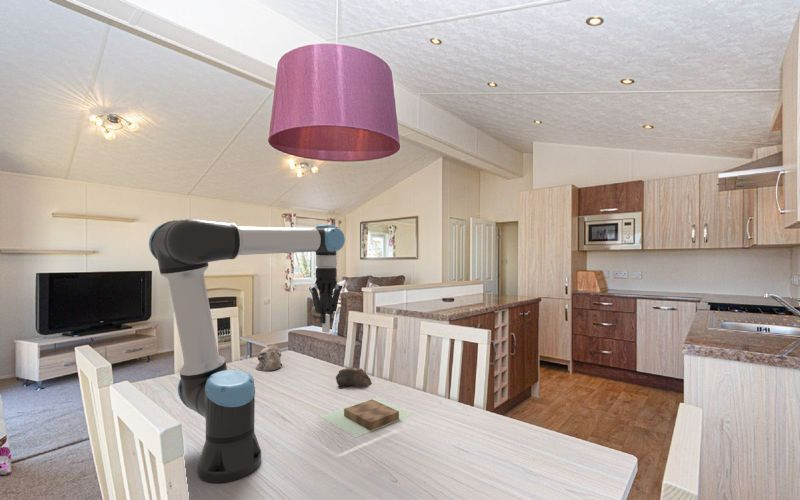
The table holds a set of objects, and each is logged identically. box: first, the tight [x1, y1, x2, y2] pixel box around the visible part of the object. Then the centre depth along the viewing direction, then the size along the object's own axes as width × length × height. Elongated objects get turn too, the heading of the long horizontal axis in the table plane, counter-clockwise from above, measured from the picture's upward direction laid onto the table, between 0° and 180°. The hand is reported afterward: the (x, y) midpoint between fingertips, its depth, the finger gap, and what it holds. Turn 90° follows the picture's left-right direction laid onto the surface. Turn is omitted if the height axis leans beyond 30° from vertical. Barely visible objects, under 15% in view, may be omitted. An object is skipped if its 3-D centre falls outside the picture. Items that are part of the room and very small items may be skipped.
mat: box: [319, 397, 414, 438], centre depth 130 cm, size 24×20×1 cm
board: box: [344, 398, 399, 432], centre depth 128 cm, size 12×2×14 cm
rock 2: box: [335, 367, 373, 388], centre depth 160 cm, size 14×9×10 cm
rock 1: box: [255, 344, 283, 372], centre depth 185 cm, size 15×12×10 cm
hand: (325, 331), depth 141 cm, fingers closed
